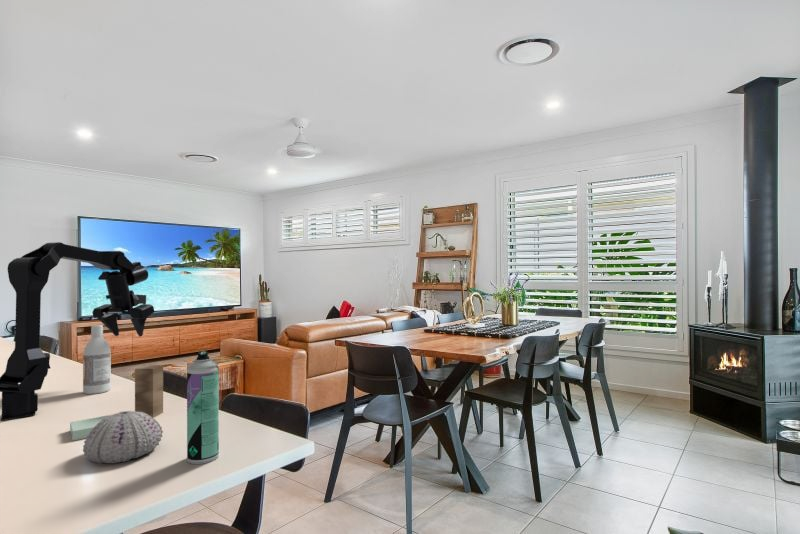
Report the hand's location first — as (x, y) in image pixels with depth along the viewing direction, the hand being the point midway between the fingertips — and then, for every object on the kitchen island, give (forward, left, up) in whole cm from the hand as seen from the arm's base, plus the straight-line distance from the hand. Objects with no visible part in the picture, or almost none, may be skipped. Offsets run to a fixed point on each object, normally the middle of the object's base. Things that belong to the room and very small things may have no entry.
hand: (129, 335), depth 146 cm
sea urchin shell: (-11, -67, -16) cm, 69 cm away
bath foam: (-9, -6, -16) cm, 19 cm away
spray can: (0, -80, -16) cm, 81 cm away
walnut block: (-2, -43, -15) cm, 45 cm away
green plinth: (-14, -48, -15) cm, 52 cm away
